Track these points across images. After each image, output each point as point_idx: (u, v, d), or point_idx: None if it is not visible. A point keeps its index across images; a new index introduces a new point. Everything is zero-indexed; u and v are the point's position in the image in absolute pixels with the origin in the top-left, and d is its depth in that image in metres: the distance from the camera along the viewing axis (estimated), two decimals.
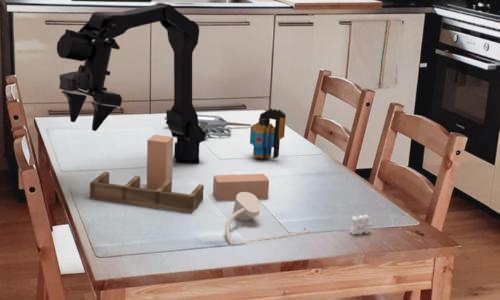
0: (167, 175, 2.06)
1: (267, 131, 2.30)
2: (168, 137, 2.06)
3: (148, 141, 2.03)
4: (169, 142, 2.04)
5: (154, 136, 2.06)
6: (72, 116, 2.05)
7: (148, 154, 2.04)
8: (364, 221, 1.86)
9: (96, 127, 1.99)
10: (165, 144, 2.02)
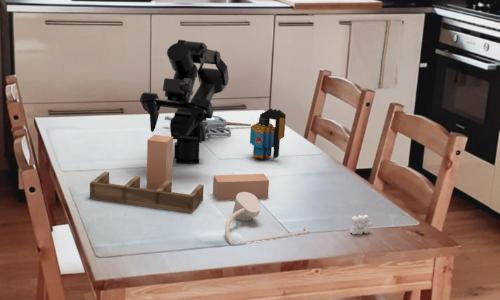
0: (167, 175, 2.06)
1: (267, 131, 2.30)
2: (168, 137, 2.06)
3: (148, 141, 2.03)
4: (169, 142, 2.04)
5: (154, 136, 2.06)
6: (153, 125, 2.12)
7: (148, 155, 2.04)
8: (364, 221, 1.86)
9: (188, 133, 2.11)
10: (165, 144, 2.02)
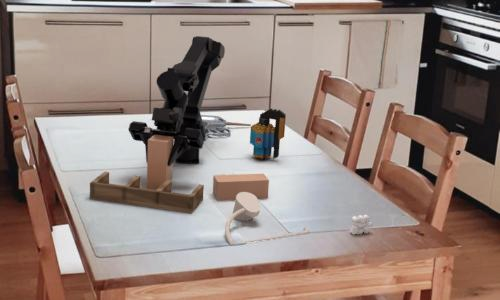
0: (167, 175, 2.06)
1: (267, 131, 2.30)
2: (168, 137, 2.06)
3: (148, 141, 2.03)
4: (169, 142, 2.04)
5: (154, 136, 2.06)
6: None
7: (149, 154, 2.04)
8: (364, 221, 1.86)
9: (171, 162, 2.05)
10: (165, 144, 2.02)
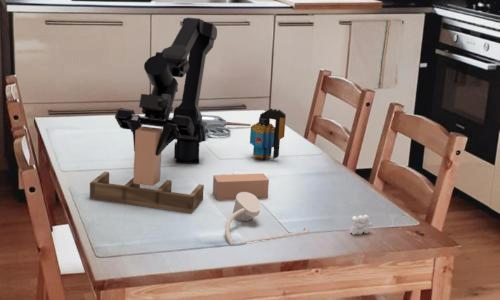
0: (155, 168, 1.96)
1: (267, 131, 2.30)
2: (157, 129, 1.97)
3: (136, 131, 1.94)
4: (158, 133, 1.95)
5: (142, 127, 1.97)
6: None
7: (136, 146, 1.94)
8: (364, 221, 1.86)
9: (159, 152, 1.95)
10: (154, 135, 1.93)
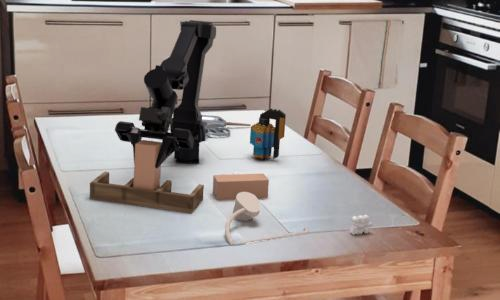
0: (155, 182, 1.97)
1: (267, 131, 2.30)
2: (157, 142, 1.98)
3: (136, 145, 1.95)
4: (158, 147, 1.96)
5: (142, 141, 1.98)
6: None
7: (136, 159, 1.95)
8: (364, 221, 1.86)
9: (159, 164, 1.96)
10: (153, 148, 1.94)
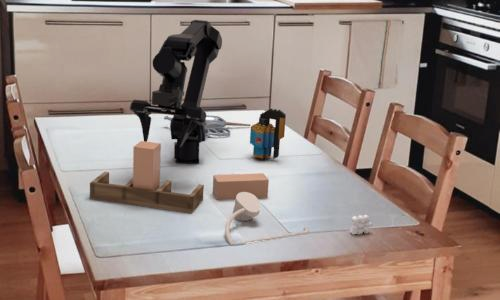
0: (154, 183, 1.97)
1: (267, 131, 2.30)
2: (155, 144, 1.97)
3: (134, 148, 1.94)
4: (156, 149, 1.95)
5: (141, 143, 1.97)
6: (146, 136, 2.07)
7: (135, 162, 1.95)
8: (364, 221, 1.86)
9: (182, 143, 2.06)
10: (152, 151, 1.93)
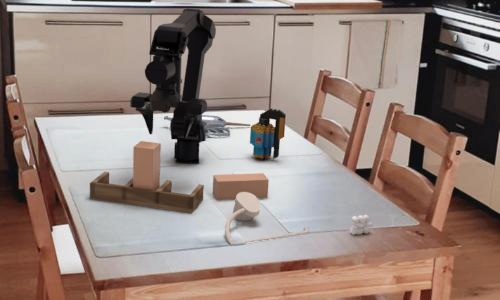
0: (154, 183, 1.97)
1: (267, 131, 2.30)
2: (155, 144, 1.97)
3: (134, 148, 1.94)
4: (156, 149, 1.95)
5: (141, 143, 1.97)
6: (150, 129, 2.10)
7: (135, 162, 1.95)
8: (364, 221, 1.86)
9: (187, 134, 2.09)
10: (152, 151, 1.93)
